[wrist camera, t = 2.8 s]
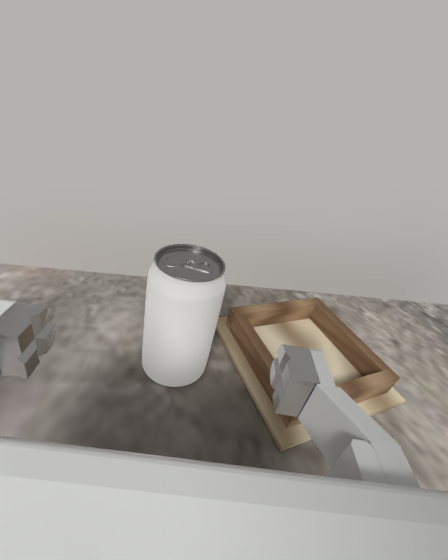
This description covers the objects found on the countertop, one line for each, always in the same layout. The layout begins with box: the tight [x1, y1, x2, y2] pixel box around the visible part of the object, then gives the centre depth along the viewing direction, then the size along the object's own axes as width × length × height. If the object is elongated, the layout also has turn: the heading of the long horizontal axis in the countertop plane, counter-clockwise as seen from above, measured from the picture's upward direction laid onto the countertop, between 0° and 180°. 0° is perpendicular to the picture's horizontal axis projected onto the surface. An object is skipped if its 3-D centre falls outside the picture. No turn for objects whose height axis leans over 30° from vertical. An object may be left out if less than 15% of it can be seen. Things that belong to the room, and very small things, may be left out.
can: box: [142, 244, 226, 387], centre depth 26 cm, size 6×6×12 cm
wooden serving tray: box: [216, 298, 405, 452], centre depth 32 cm, size 16×16×3 cm
